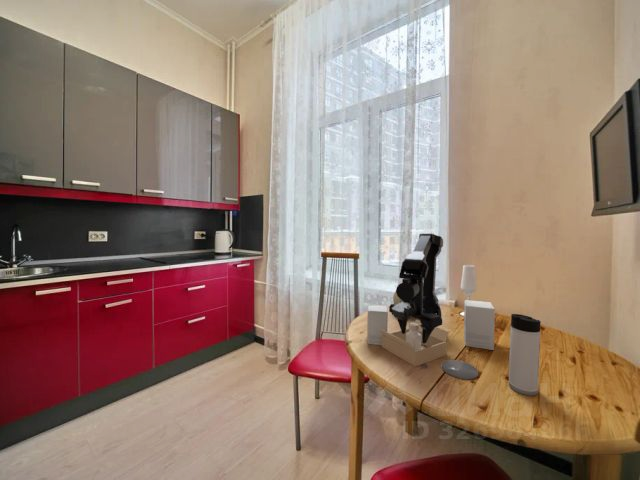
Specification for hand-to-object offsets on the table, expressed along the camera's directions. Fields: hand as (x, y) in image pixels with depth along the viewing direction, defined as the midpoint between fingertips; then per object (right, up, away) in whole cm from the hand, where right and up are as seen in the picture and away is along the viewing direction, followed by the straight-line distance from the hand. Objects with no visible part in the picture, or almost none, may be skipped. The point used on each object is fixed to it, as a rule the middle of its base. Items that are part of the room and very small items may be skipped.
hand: (413, 338), depth 93 cm
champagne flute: (+39, -2, +37) cm, 54 cm away
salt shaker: (0, -5, 0) cm, 5 cm away
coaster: (+10, -5, -12) cm, 16 cm away
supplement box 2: (+26, -4, +6) cm, 27 cm away
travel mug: (+22, -6, -22) cm, 31 cm away
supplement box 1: (-11, -4, +8) cm, 15 cm away
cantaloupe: (+11, -3, +39) cm, 40 cm away
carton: (0, -5, 0) cm, 5 cm away
